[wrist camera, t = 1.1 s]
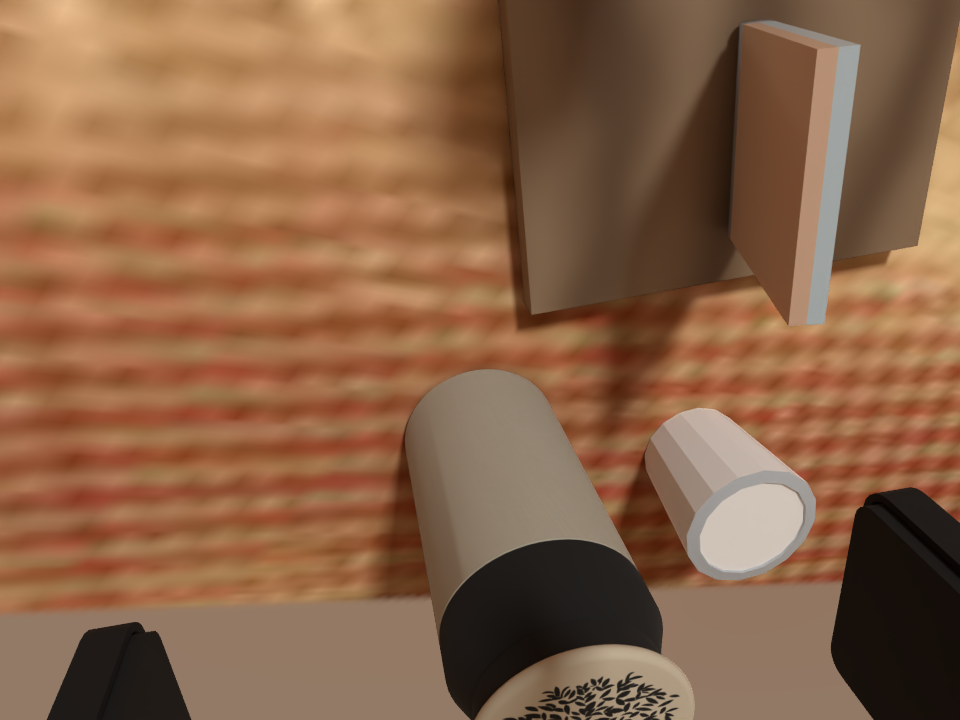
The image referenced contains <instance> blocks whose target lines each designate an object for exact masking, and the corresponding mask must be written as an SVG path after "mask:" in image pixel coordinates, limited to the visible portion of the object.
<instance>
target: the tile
mask: <svg viewBox="0 0 960 720" xmlns="http://www.w3.org/2000/svg"><path fill="white" fill-rule="evenodd" d="M860 47H861V45H860V44H856V43H853V42H849V41H845V40H842V39H838V38H835V37H831V36H827V35H824V34H820V33H817V32H813V31H809V30H806V29H802V28H799V27H795V26H791V25H788V24H784V23H781V22H777V21H771V20H768V19H763V20H750V21H743V22H740V25H739V42H738V60H737V77H736V95H735V113H734V130H733V148H732V165H731V183H730V200H729V218H728V236H729V237H730V239H731V241H732V242H733V244H734V245H735V247H736V248H737V250H738V251H739V253H740V254H741V256H742V257H743V259H744V260H745V262H746V263H747V265H748V266H749V268H750V269H751V271H752V272H753V274H754V275H755V277H756V278H757V280H758V281H759V283H760V284H761V286H762V287H763V289H764V290H765V292H766V293H767V295H768V296H769V298H770V299H771V301H772V302H773V304H774V305H775V307H776V308H777V310H778V311H779V313H780V314H781V316H782V317H783V319H784V320H785V322H786V323H787V325H788V326H798V325H814V324H824V323H825V315H826V307H827V300H828V292H829V284H830V277H831V269H832V261H833V254H834V246H835V238H836V231H837V223H838V215H839V208H840V200H841V192H842V185H843V177H844V169H845V162H846V154H847V146H848V139H849V131H850V123H851V116H852V108H853V100H854V93H855V85H856V77H857V70H858V62H859V54H860Z"/></svg>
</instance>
